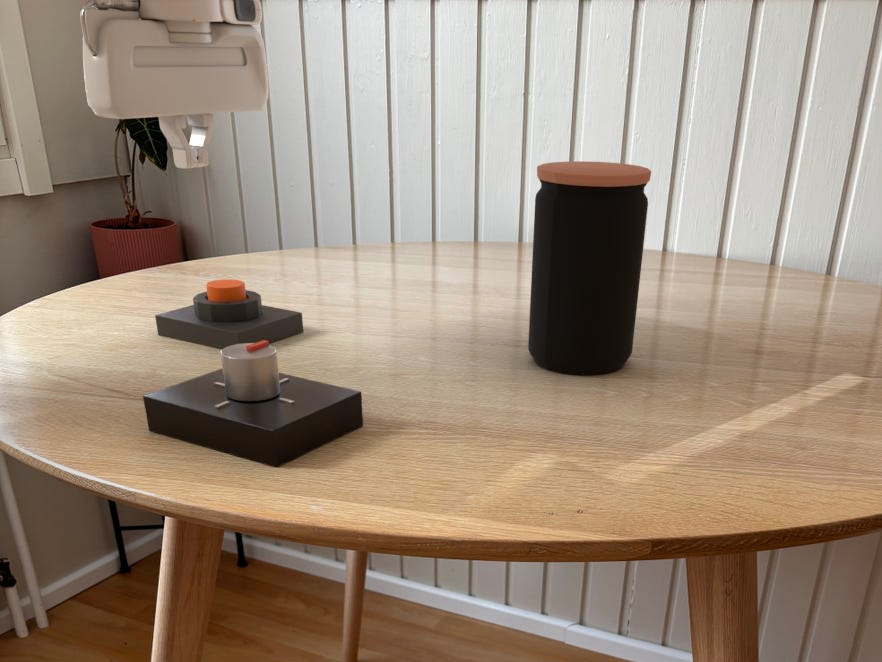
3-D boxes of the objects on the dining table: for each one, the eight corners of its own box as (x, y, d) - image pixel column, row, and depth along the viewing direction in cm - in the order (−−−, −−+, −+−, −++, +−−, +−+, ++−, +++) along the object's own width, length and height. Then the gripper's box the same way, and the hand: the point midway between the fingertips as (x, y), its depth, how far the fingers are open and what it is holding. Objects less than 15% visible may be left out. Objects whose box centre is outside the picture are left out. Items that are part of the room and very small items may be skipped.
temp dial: (255, 405, 75) (249, 357, 73) (214, 395, 77) (208, 348, 75) (291, 390, 78) (287, 344, 76) (251, 381, 80) (246, 336, 78)
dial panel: (148, 431, 78) (141, 393, 76) (241, 395, 86) (236, 361, 84) (276, 467, 72) (272, 428, 70) (363, 425, 80) (361, 389, 78)
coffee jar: (651, 363, 97) (674, 169, 87) (584, 384, 91) (601, 178, 81) (573, 341, 103) (587, 158, 94) (505, 359, 97) (512, 166, 87)
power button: (200, 301, 100) (198, 284, 99) (227, 294, 103) (224, 277, 102) (228, 306, 99) (225, 289, 98) (254, 299, 101) (252, 282, 101)
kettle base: (158, 335, 102) (151, 297, 100) (223, 316, 109) (219, 280, 107) (240, 354, 97) (235, 314, 95) (303, 332, 104) (300, 295, 102)
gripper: (103, -8, 76) (132, 180, 84) (273, 3, 91) (284, 161, 99) (52, -9, 79) (84, 173, 86) (224, 1, 94) (239, 156, 101)
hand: (192, 167), depth 93 cm, fingers closed
